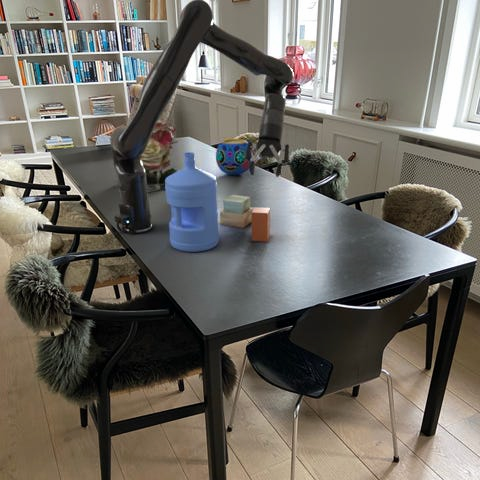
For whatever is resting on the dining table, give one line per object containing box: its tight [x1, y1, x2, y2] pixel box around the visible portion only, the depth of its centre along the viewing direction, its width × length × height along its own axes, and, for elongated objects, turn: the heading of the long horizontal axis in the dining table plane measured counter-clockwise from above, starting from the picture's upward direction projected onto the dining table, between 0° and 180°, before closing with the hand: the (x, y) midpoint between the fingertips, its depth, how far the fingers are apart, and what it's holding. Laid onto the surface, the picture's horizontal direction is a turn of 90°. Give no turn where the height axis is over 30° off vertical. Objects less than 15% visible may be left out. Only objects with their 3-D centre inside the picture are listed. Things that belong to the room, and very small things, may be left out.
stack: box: [219, 194, 254, 229], centre depth 171 cm, size 9×9×8 cm
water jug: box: [164, 151, 220, 253], centre depth 149 cm, size 16×16×28 cm
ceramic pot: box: [215, 138, 254, 176], centre depth 228 cm, size 18×18×15 cm
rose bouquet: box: [140, 116, 179, 193], centre depth 209 cm, size 26×29×30 cm
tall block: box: [251, 206, 271, 243], centre depth 157 cm, size 5×5×10 cm
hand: (264, 175), depth 161 cm, fingers open, 8 cm apart
